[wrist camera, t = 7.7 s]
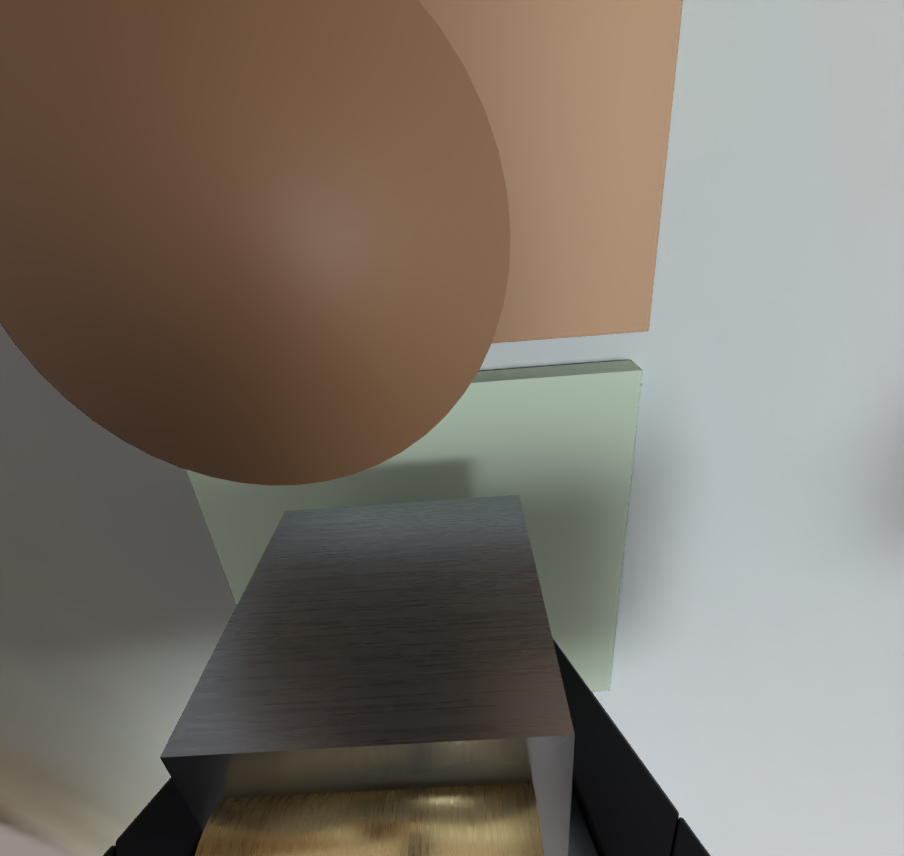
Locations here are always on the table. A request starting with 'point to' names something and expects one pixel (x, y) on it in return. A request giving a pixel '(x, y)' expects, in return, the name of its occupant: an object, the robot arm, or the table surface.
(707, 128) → the table surface
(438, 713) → the lever cap
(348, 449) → the body
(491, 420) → the mat
